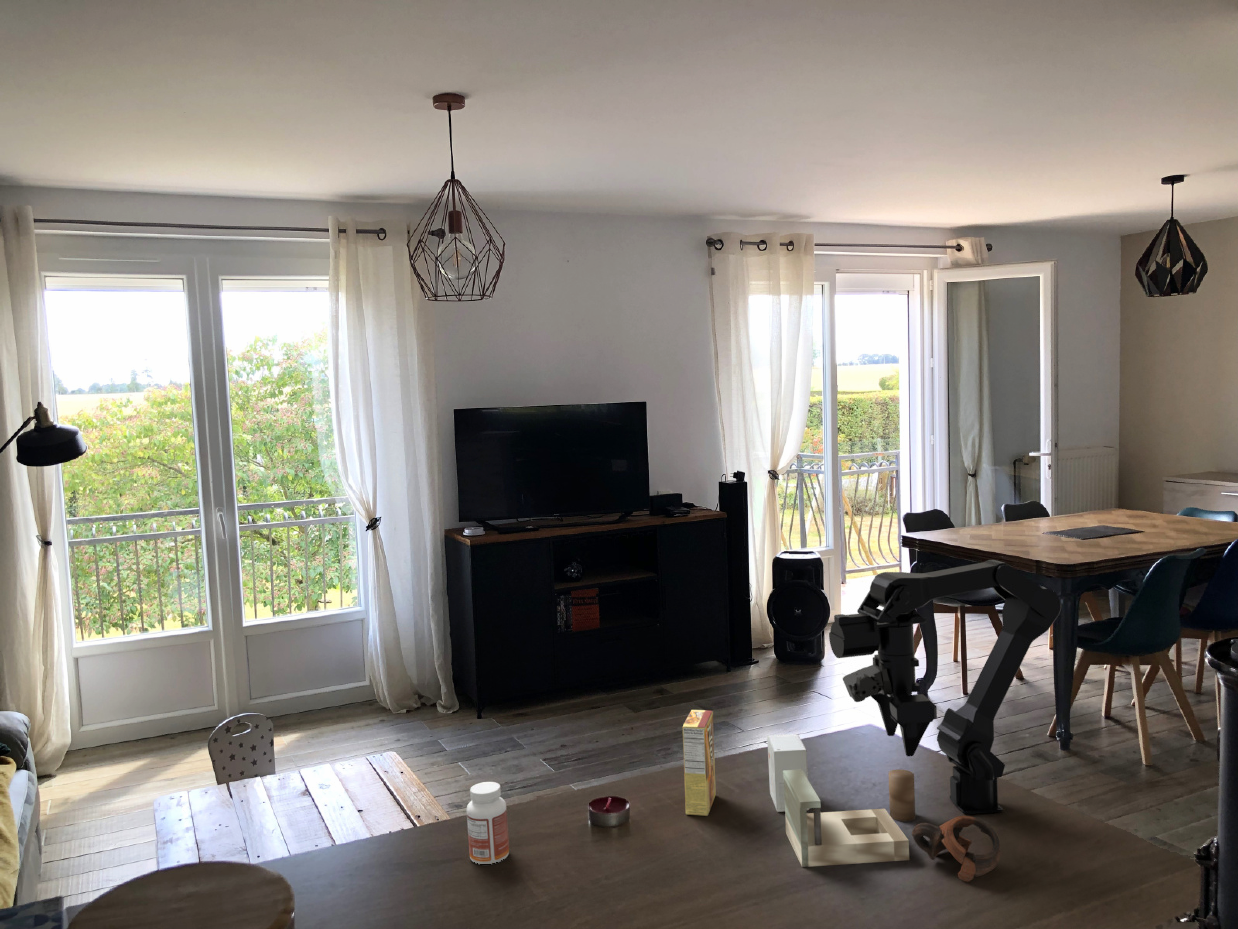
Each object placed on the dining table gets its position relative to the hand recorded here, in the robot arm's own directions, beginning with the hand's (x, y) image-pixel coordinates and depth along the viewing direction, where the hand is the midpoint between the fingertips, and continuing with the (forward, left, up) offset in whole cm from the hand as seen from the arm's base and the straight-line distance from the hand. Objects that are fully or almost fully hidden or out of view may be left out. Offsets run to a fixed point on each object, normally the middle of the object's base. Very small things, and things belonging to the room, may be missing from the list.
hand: (899, 745), depth 151 cm
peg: (0, 0, -12) cm, 12 cm away
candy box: (+32, -9, -12) cm, 35 cm away
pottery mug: (-2, +17, -12) cm, 21 cm away
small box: (+17, -8, -12) cm, 22 cm away
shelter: (+12, +9, -12) cm, 19 cm away
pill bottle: (+67, +5, -12) cm, 68 cm away
